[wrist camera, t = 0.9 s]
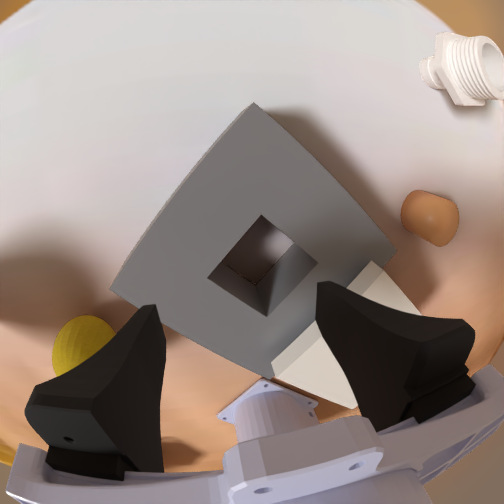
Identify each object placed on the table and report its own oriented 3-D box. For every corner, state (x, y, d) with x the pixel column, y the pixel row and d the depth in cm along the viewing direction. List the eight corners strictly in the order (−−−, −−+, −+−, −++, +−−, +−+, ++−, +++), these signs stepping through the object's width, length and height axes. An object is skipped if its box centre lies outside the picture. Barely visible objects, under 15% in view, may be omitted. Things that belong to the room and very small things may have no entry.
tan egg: (436, 209, 24) (463, 221, 20) (413, 239, 24) (439, 255, 21) (418, 181, 22) (448, 190, 19) (393, 212, 23) (422, 226, 19)
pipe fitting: (423, 30, 16) (483, 14, 9) (461, 88, 19) (521, 89, 12) (391, 56, 18) (458, 40, 10) (434, 121, 20) (501, 127, 13)
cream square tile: (425, 322, 21) (435, 331, 20) (346, 397, 23) (352, 409, 22) (371, 260, 18) (383, 270, 16) (270, 362, 20) (276, 377, 18)
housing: (407, 279, 26) (434, 300, 22) (313, 373, 28) (327, 404, 24) (242, 110, 18) (253, 102, 14) (125, 261, 21) (109, 289, 16)
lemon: (127, 304, 22) (104, 371, 15) (128, 352, 24) (112, 420, 16) (69, 292, 21) (30, 351, 13) (75, 341, 22) (48, 402, 15)
